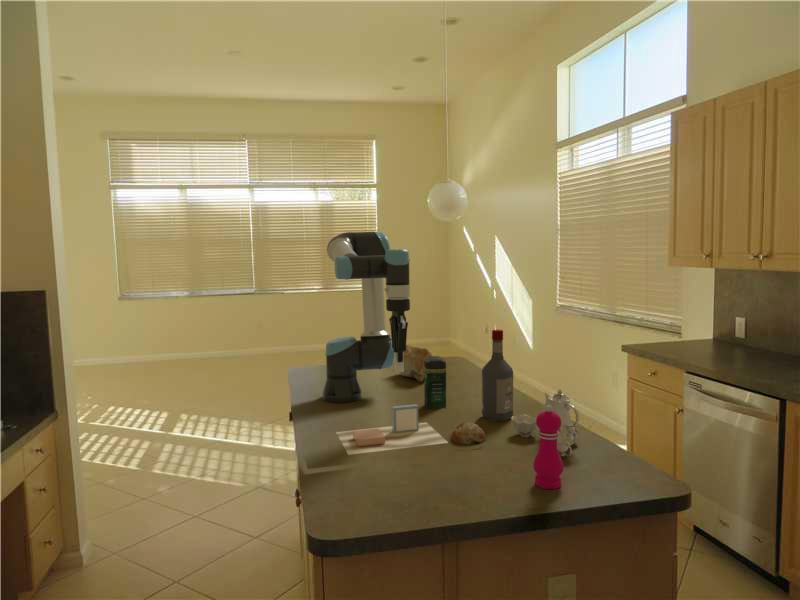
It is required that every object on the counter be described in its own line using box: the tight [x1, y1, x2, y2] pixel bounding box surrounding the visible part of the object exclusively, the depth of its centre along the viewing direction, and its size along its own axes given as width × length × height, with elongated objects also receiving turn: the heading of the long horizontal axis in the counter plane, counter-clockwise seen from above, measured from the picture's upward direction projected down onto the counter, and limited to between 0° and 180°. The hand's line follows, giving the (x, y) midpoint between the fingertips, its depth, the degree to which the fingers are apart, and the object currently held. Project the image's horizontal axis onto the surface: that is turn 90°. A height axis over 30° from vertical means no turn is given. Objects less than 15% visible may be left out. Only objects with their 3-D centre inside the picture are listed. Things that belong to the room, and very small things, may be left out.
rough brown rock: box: [399, 344, 434, 383], centre depth 253 cm, size 23×17×15 cm
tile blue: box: [391, 403, 419, 433], centre depth 179 cm, size 2×8×8 cm, turn 106°
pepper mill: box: [532, 405, 564, 490], centre depth 141 cm, size 7×7×20 cm
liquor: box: [481, 329, 514, 422], centre depth 194 cm, size 9×9×30 cm
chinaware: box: [510, 388, 580, 457], centre depth 169 cm, size 28×17×17 cm, turn 23°
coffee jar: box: [423, 355, 447, 410], centre depth 207 cm, size 10×8×19 cm
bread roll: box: [450, 421, 486, 445], centre depth 171 cm, size 10×10×8 cm
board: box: [335, 422, 449, 456], centre depth 174 cm, size 20×30×1 cm, turn 106°
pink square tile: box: [352, 427, 385, 446], centre depth 171 cm, size 2×8×8 cm
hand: (399, 371), depth 183 cm, fingers closed
